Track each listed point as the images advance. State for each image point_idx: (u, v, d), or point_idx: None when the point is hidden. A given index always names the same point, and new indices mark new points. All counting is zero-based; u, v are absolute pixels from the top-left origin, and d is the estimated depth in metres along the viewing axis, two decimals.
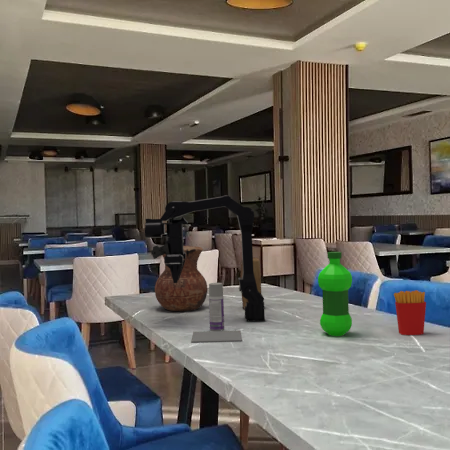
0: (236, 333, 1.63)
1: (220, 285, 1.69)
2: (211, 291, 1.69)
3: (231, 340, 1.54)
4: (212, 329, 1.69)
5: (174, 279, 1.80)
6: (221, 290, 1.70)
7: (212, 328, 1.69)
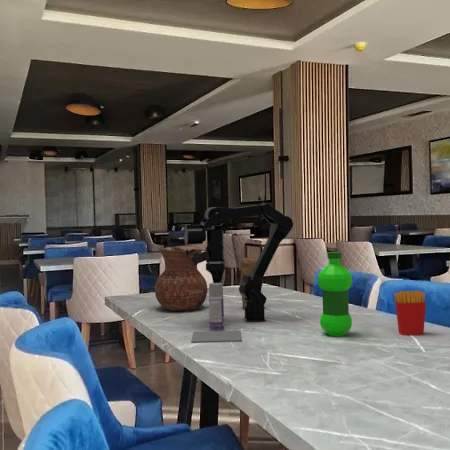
0: (236, 333, 1.63)
1: (220, 285, 1.69)
2: (211, 291, 1.69)
3: (231, 340, 1.54)
4: (212, 329, 1.69)
5: None
6: (221, 290, 1.70)
7: (212, 328, 1.69)
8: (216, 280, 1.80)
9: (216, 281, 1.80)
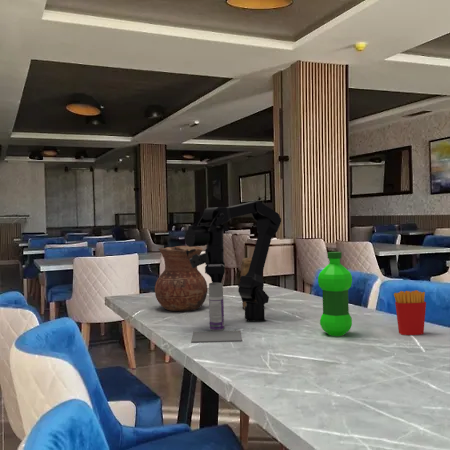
0: (236, 333, 1.63)
1: (220, 285, 1.68)
2: (211, 291, 1.68)
3: (231, 340, 1.54)
4: (212, 329, 1.69)
5: None
6: (221, 290, 1.69)
7: (212, 328, 1.69)
8: None
9: None
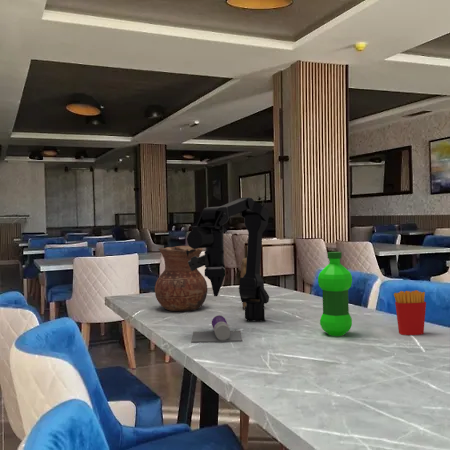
0: (236, 333, 1.63)
1: None
2: None
3: (231, 340, 1.54)
4: None
5: (215, 292, 1.66)
6: None
7: None
8: (216, 287, 1.65)
9: (216, 288, 1.65)
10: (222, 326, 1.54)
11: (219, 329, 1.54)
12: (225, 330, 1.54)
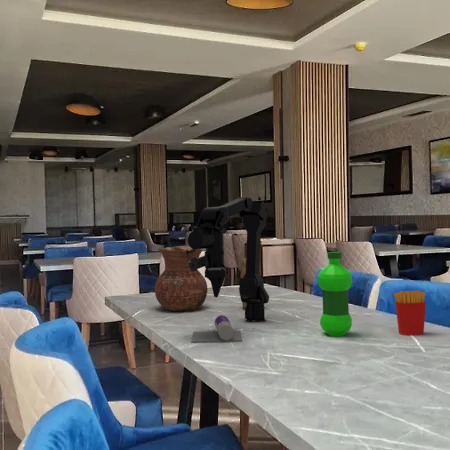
0: (236, 333, 1.63)
1: None
2: None
3: (231, 340, 1.54)
4: None
5: (215, 293, 1.64)
6: None
7: None
8: (216, 288, 1.64)
9: (216, 289, 1.64)
10: (228, 326, 1.54)
11: (224, 328, 1.54)
12: (229, 331, 1.54)
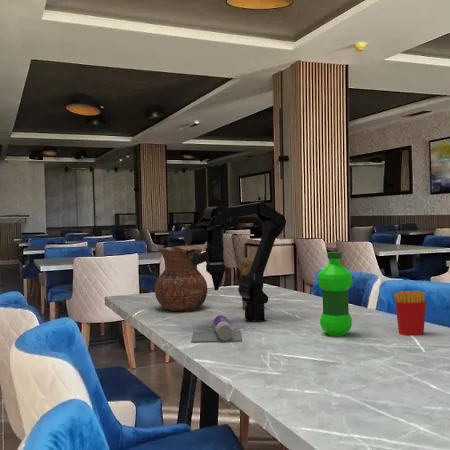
0: (236, 333, 1.63)
1: None
2: None
3: (231, 340, 1.54)
4: None
5: (215, 286, 1.76)
6: None
7: None
8: (216, 281, 1.76)
9: (216, 282, 1.76)
10: (226, 326, 1.54)
11: (222, 328, 1.54)
12: (227, 331, 1.54)
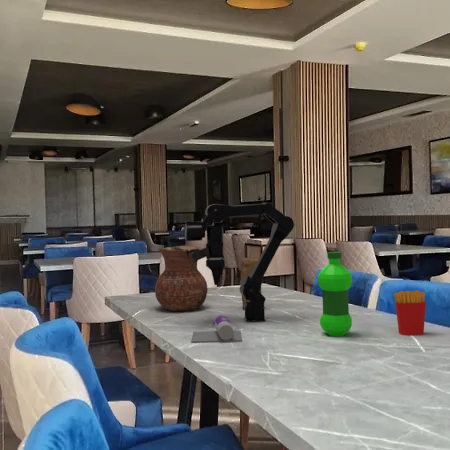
0: (236, 333, 1.63)
1: None
2: (218, 332, 1.56)
3: (231, 340, 1.54)
4: None
5: (215, 281, 1.82)
6: None
7: None
8: (216, 276, 1.82)
9: (216, 277, 1.82)
10: (227, 326, 1.54)
11: (224, 328, 1.54)
12: (229, 331, 1.54)
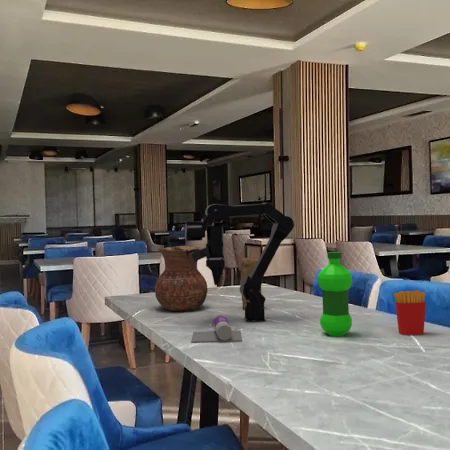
0: (236, 333, 1.63)
1: None
2: None
3: (231, 340, 1.54)
4: None
5: (215, 281, 1.82)
6: None
7: None
8: (216, 276, 1.82)
9: (216, 277, 1.82)
10: (225, 326, 1.54)
11: (221, 328, 1.54)
12: (227, 330, 1.54)
